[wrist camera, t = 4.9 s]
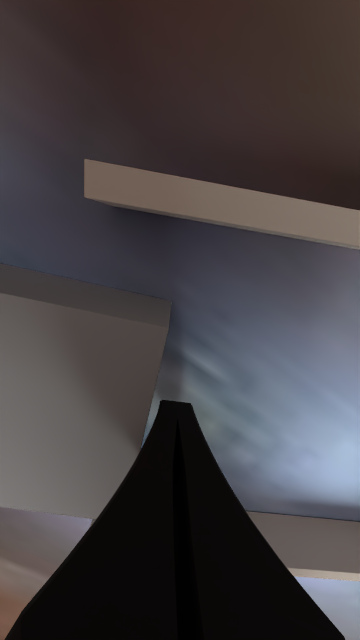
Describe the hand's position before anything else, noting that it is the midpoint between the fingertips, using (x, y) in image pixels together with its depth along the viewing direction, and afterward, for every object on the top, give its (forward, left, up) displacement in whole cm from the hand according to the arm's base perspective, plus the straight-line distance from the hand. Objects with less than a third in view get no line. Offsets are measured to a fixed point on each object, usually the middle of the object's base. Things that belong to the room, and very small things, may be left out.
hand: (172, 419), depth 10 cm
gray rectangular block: (0, +5, -2) cm, 5 cm away
